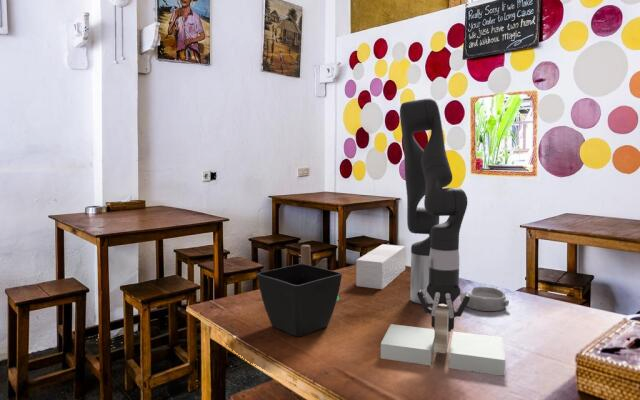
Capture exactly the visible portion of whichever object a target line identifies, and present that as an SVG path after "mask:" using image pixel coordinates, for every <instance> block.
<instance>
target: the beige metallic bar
mask: <svg viewBox="0 0 640 400" xmlns="http://www.w3.org/2000/svg"><path fill="white" fill-rule="evenodd" d="M448 322H449V309H448V307H447V305H445V304H438V307H437V308H436V311H435V334H434V353H443V354H447V352H448V347H449V343H450V342H449V341H450V337H451V336H450V335H451V332H448Z"/></svg>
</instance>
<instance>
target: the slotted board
mask: <svg viewBox="0 0 640 400" xmlns="http://www.w3.org/2000/svg"><path fill="white" fill-rule="evenodd" d="M434 334H435V330H434V328H426V327H420V326H419V327H417V326H408V325H402V324H401V325H400V324H393V323H391V324H389V327H388V329H387V331H386V333H385V334H384V337H383V338H382V340H381V343H380V359H381V360H382V359H383V360H390V361H396V362H404V363H410V364H418V365H425V366H432V362H433V358H434V354H435V352H434ZM504 344H505V343H504V337H502V336H501V337H500V336H496V335H495V336H493V335H485V334H478V333H477V334H476V333H468V332H459V331H453V332H452V336H451V342H450V349H449V360H448V361H449V365H448V366H449V367H448V368H449V369H452V370H460V371H465V370H466V372H472V371H474V373H479V372H480V373H481V374H486V373H488V374H489V375H493V374H494V375H496V376H501V375H502V377H504V376H505V369H506V356H505V345H504ZM503 375H504V376H503Z"/></svg>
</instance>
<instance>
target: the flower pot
mask: <svg viewBox="0 0 640 400" xmlns="http://www.w3.org/2000/svg"><path fill="white" fill-rule="evenodd" d="M342 275H343V274H342V272H338V271H335V270H331V269H328V268H327V269H323V268H318V267H315V266H314V265H311V266H310V265H306V264H301V263H298V264H294V265H288V266H284V267H279V268H275V269H270V270H266V271H265V270H264V271H261V272H257V280H258V287H259V291H260V295H261V299H262V301H263V302H262V303H263V307H264V308H265V312H266V313H267V317H268V319H269V321H270V325H271V326H272V327H273V328H276V329H278V330H281V331H283V332H285V333H288V334H289V335H292V336H295V337H302V336H304V335H307V334H310V333H313V332H315V331H319V330H321V329H323V328H326V327H328V325H329V324H330V322H331V319H332V315H333V313H334V311H335V307H336V305H337V297H338V296H339V291H340V289H341V282H342V277H343V276H342Z"/></svg>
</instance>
